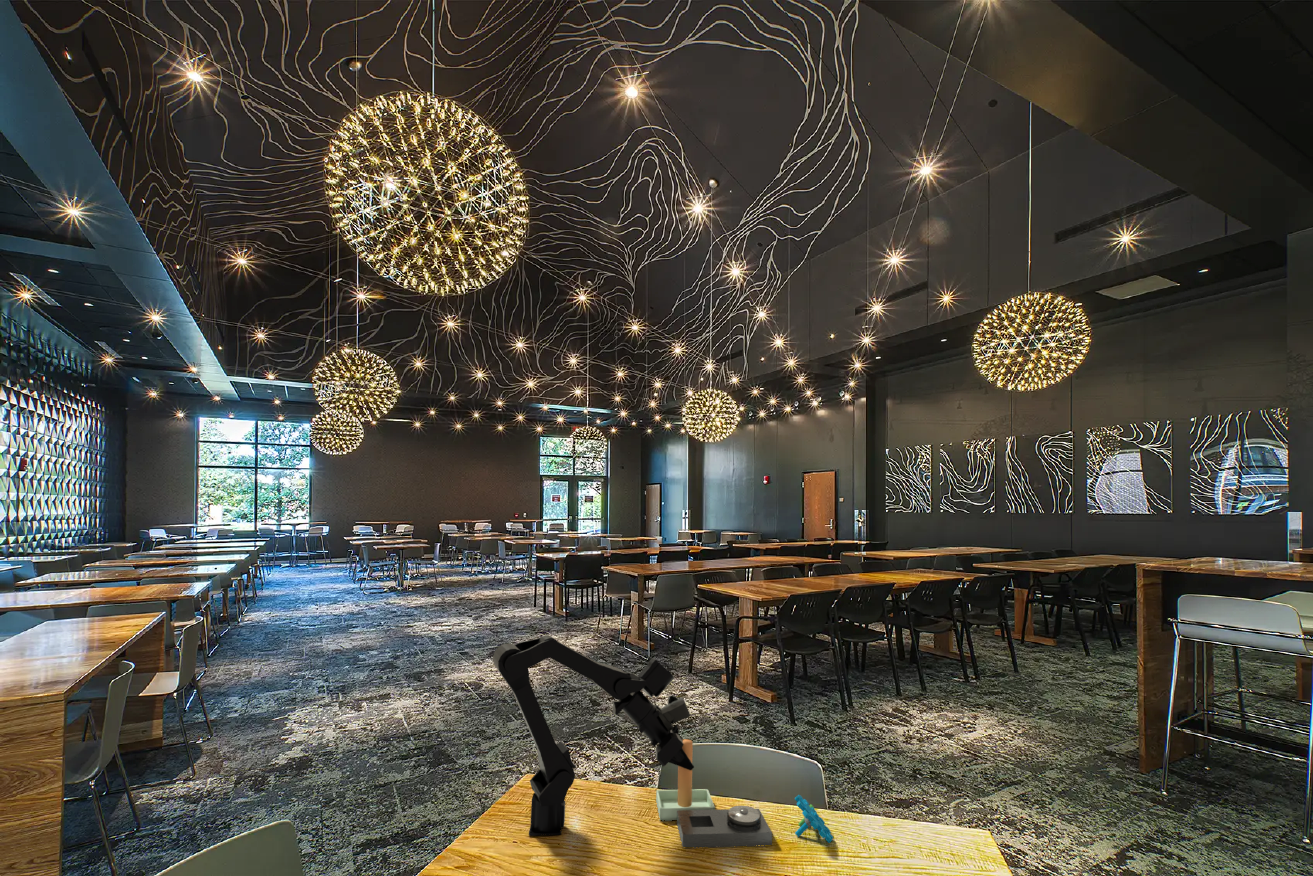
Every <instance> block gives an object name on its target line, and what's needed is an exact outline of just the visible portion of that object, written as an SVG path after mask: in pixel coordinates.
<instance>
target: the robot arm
mask: <svg viewBox="0 0 1313 876" xmlns="http://www.w3.org/2000/svg"><path fill="white" fill-rule="evenodd" d="M546 659H551V660H554V661H555V662H557V663H559V664H561V665H563V666H565V667H566V668H568V669H570V670H572V671H574V672H575V673H577V674H580V675H582V676H584V677H586V678H587V679H589V680H591V682H593V683H594V684H596V685H597V687H599V688H601V689H602V690H603V691H604V692H605V693H606V694H608V695H609V696H610V697H612V698H613V699H614V700H612V714H614V715H616V716H619V714H620V713H621V712H622V711H623V712H624V713H625V715H626V716H627V717H628V718H629V719H630V720H631V721H632V722H633V723H634V724H635V725H636V726H637V729H638V731H639V733H641V734H642V733H643V734H644V735H645V737H647V739H648V740H649V741H650V744H651V745H652V746H653V747H655V757H656V761H657V762H658V763H659V764H660V765H661V767H665V766H666V765H667V764H668V763H669V764H673V765H675V766H677V767H678V766H680V767H683V768H685V769H688V770H692V771H693V769H694V768H695V766H694V764H693V761H692V762H691V761H690V759H689V758H688V756H687V754H686V753H685V751H684V750H683V748H682V747H683V745H684V744H683V738H682V736H680V735H679V726H678V724H676V723H678V722H680V721H682V720H686V719H688V718H689V717H690V716H691V713H690V711H689V709H688V706H687V703H686V702H685V699H684V698H683V697H681V696H680V697H678V696H676V695H675V694H671V695H669V696H668V697H667V703H665V705H664V706H662V707H660V706H659V705H658V704H654V703H653V702H652V701H650V699H649V698H648V697H650V698H651V699H652V698H653V697H654V698H659V697H660V696H661V694H662V693H663V692H664V691H665V690H666V689H667V687H668V686H669V685H670V684H671V683H672V682H673V680H675V677H674V675H673V674H672V673H671V671H670V670H669V669H667V668H666V667H664V666H663V664H661V663H660V662H659V661H658V660H657V659H655V658H653V657H652V658H651V659H650V660H649V661H648V663H647V665H645V667H644V668H643V669H642V670H641V671H640V672H639V673H638V675H637V674H636V673H633V672H625V671H623V670H622V669H620V668H618V667H615V666H613V665H609V664H607V663H601V662H598V661H595V660H593V659H591V658H589V657H587V656H585V654H582V653H580V652H578V651H576V650H575V649H573V648H571V647H569V646H567V645H565V644H564V643H562V642H561V641H558V640H557V639H556V638H554V637H552V635H548V634H546V635H542V636H540V637H538V638H532V639H528V640H525V641H521V642H520V641H519V642H517V643H515V644H514V643H503V644H501V645H500V646H498V647H497V648H496V649H495V651H494V653H493V656H492V662H493V664H494V666H495V668H496V670H497V671H498V672H499V674H500V675H501V677H502V678H503V680H504V681H505V683H506V684H507V685H508V687H509V689H510V690H511V691H512V694H513V695H514V698H515V701H516V704H517V705H518V708H519V710H520V712H521V715H522V717H523V719H524V721H525V724H526V726H527V729H528V731H529V734H530V736H531V737H532V740H533V743H534V744H535V747H536V750H537V751H536V752H537V753H536V754H537V759H538V764H539V769H538V770H537V771H536V772H535V774H534V775H533V776H532V777H531V779H530V780H529V784H530V786H531V790H532V791H533V794H532V797H531V804H530V805H531V806H530V807H531V808H530V809H531V810H530V827H529V830H528V836H530V837H533V836H534V837H535V836H536V837H537V836H538V837H539V836H560V835H562V828H563V829H564V827H565V821H566V819H565V818H566V801H565V800H566V798H567V794H568V792H569V791H568V790H569V789H570V788H571V787H572V785H573V784H574V781H575V779H576V773H575V769H576V768H577V765H576V764H575V763H574V762H573V760H572V757H571V753H570V750H569V748H568V747H566V744H564V743H563V741H562V740H560V741H559V742H558V743H556V741H555V739H554V736H553V734H552V731H551V729H550V727H549V725H548V723H547V721H546V718H545V716H544V713H543V711H542V709H541V706H540V704H539V702H538V699H537V697H536V695H535V692H534V690H533V687H532V684H531V680H530V679H531V678H530V677H531V676H530V671H529V669H530V668H532V667H534V666H536V665H538V664H540V663H541V662H543V661H544V660H546ZM642 691H643V692H644V693H643V692H642ZM645 694H646V695H647V696H648V697H647V696H646V695H645ZM674 724H675V725H674Z"/></svg>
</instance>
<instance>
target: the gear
mask: <svg viewBox="0 0 1313 876" xmlns="http://www.w3.org/2000/svg"><path fill="white" fill-rule="evenodd" d="M794 800H795V801H796V806H797V807H798V808H799V809H800V811H802V812H801V814H802V815H803V818H802V819H801V821H799V822H798V826H799V828H798V829H797V830H796V831H794V833H795V835H796V836H797V838H799V837H801V835H803V834H804V833H805V831H806V830H807V829H808V828H810V829H811V828H813V829H814V830H817V831H818V834H819V836H820V837H821V838H822V840H823V839H824V840H826V841H827V843H829V844H830V843H831V842H832V841H833V839H834V837H833V835H832V834H831V833H832V832H831V830H830V828H829V827H828V826H827V825H826V823H825V821H824V819H823V818H822V817H820V816H819V814H818V812H817V810H816V809H815V806H814V805H813V804H811V803H810V802H809V801H808V800H807V799H805V798H803V796H802V795H800V794H798V795H796V796H795V797H794Z"/></svg>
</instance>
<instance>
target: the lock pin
mask: <svg viewBox="0 0 1313 876" xmlns="http://www.w3.org/2000/svg"><path fill="white" fill-rule="evenodd" d="M682 740H683V744H684V745H683V747H682V748H683V750H684V751H685V753H686V754H687V756H688V758H689V759H690V761H691V762H692V763H693V752H694V751H693V745H694V744H693V740H691V739H685V738H684V739H683V738H682ZM692 789H693V769H692V770H688V769H685V768H683V767H680V766H678V765H677V790H678V805H679V806H681V807H689V806H691V805H692Z"/></svg>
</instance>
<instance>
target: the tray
mask: <svg viewBox="0 0 1313 876" xmlns="http://www.w3.org/2000/svg"><path fill="white" fill-rule="evenodd" d="M655 792H656V794H655V801H656V802H655V804H656V803H657V804H656V808H658V809H657V813H659V814H658V818H660V819H659V821H660V820H662V821H661V822H673V821H672V820H677V810H716V807H715V804H714V801H713V798H712V796H711V794H710V791H709V789H707V788H703V789H702V788H701V789H697V788H696V789H693V788H692V805H691V806H689V807H681V806H679V805H678V789H656V791H655ZM664 820H665V821H664Z"/></svg>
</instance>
